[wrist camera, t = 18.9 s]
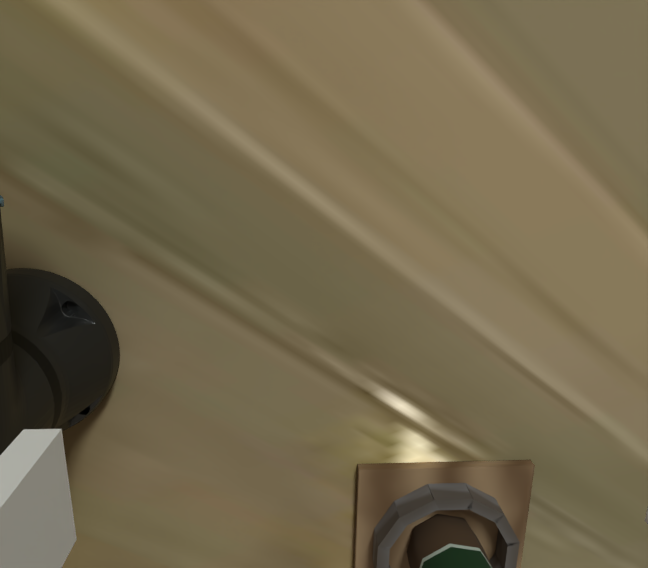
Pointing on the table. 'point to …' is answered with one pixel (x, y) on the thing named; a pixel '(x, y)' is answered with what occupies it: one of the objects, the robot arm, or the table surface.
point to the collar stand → (441, 507)
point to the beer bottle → (445, 545)
